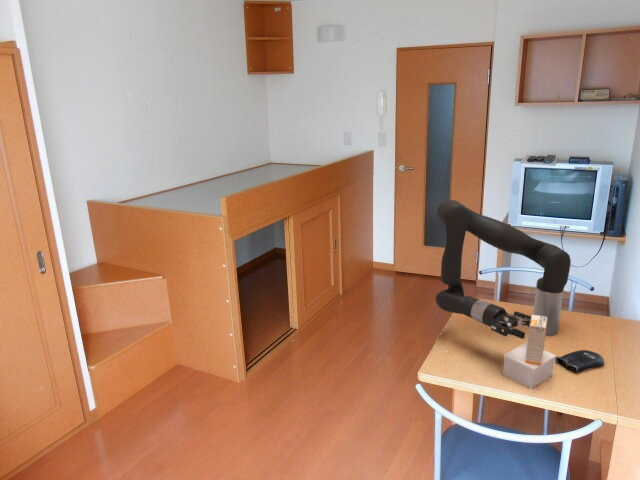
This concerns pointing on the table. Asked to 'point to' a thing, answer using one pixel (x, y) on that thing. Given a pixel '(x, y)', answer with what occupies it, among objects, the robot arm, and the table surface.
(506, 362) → the storage box
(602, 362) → the electronic device
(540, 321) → the supplement box
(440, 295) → the robot arm
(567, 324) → the table surface
